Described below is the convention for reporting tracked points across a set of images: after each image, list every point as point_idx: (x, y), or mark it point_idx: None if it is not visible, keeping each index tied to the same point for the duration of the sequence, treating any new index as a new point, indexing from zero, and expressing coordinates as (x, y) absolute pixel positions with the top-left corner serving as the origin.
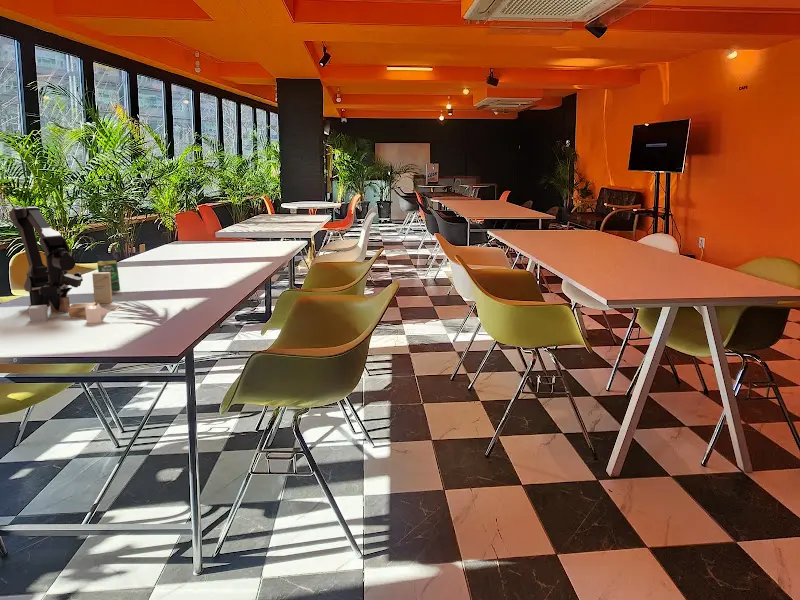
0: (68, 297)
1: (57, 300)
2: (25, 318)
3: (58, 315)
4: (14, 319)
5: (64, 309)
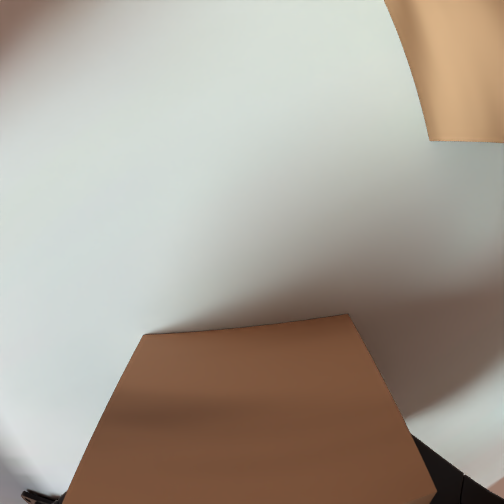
0: (81, 501)
1: (484, 500)
2: (483, 460)
3: (494, 299)
4: (478, 483)
5: (360, 344)
